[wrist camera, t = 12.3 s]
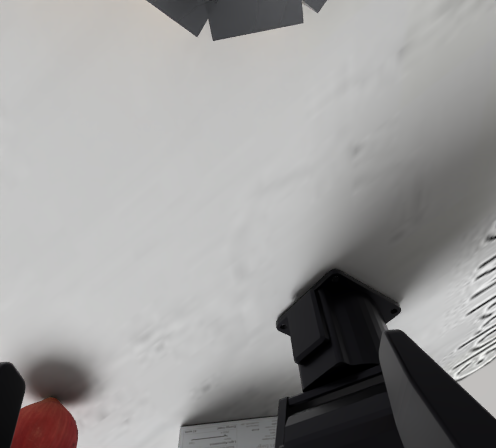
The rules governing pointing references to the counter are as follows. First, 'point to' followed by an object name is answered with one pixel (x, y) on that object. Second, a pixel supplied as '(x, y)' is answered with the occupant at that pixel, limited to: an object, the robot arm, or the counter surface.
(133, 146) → the counter surface
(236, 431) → the light bulb box
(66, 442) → the onion
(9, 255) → the counter surface
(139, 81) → the counter surface
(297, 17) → the hinge
